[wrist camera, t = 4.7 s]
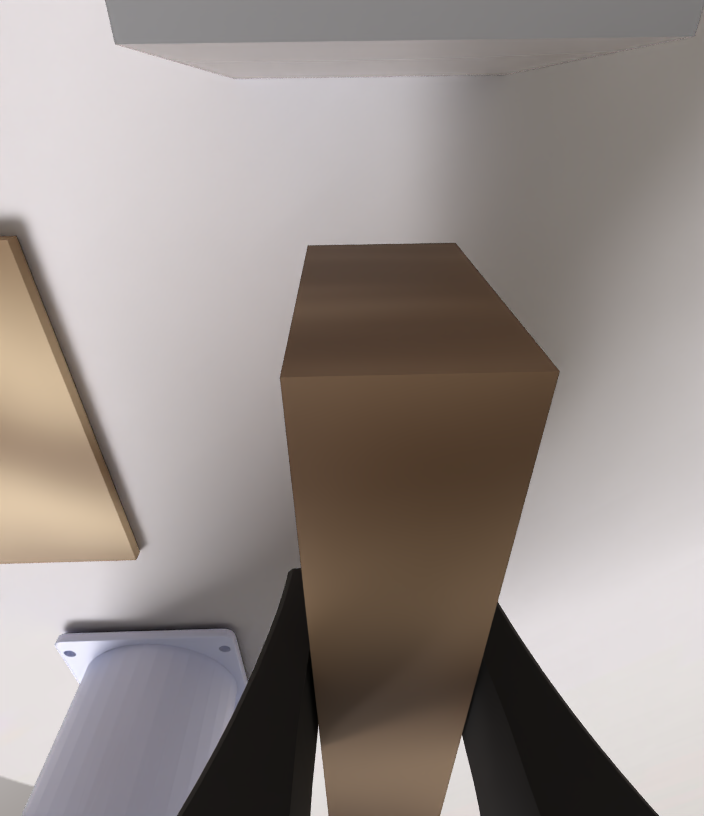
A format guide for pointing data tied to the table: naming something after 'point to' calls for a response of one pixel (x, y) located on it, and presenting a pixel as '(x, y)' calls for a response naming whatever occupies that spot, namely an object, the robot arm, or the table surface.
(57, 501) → the mat
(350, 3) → the tile
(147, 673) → the robot arm
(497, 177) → the table surface
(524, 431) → the brown wooden block
